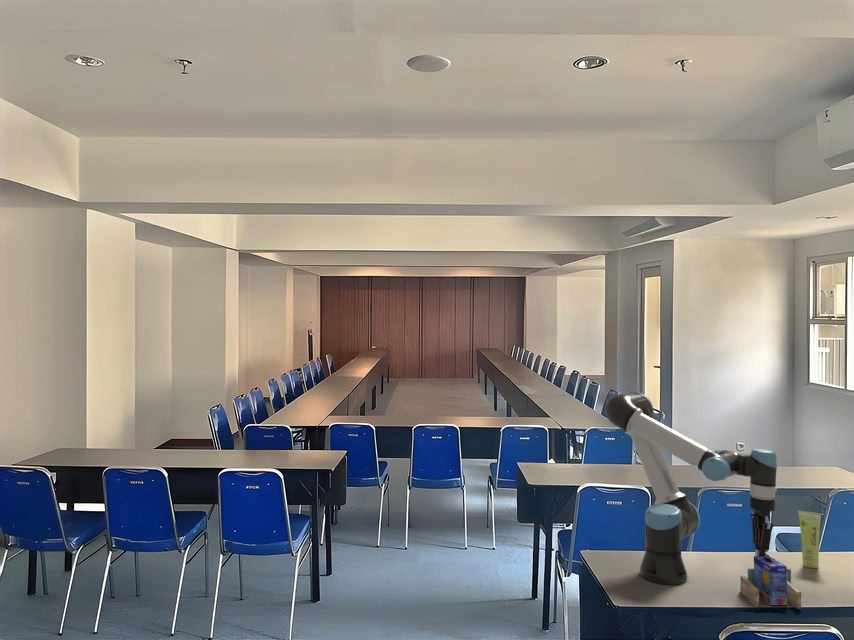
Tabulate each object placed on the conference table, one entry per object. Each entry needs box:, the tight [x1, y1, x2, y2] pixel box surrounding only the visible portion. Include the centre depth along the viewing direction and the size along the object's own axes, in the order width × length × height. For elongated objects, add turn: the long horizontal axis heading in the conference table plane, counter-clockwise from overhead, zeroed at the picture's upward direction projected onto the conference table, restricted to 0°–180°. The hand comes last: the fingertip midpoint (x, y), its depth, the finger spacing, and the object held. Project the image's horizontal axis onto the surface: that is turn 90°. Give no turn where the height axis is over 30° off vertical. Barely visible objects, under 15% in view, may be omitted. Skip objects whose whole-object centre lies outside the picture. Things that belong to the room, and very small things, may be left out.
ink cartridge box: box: [753, 552, 789, 606], centre depth 206 cm, size 10×6×14 cm, turn 4°
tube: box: [797, 509, 822, 569], centre depth 238 cm, size 6×5×20 cm
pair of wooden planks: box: [739, 575, 802, 610], centre depth 206 cm, size 13×12×5 cm
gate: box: [747, 567, 792, 585], centre depth 212 cm, size 13×1×8 cm, turn 85°
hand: (759, 568), depth 217 cm, fingers closed
